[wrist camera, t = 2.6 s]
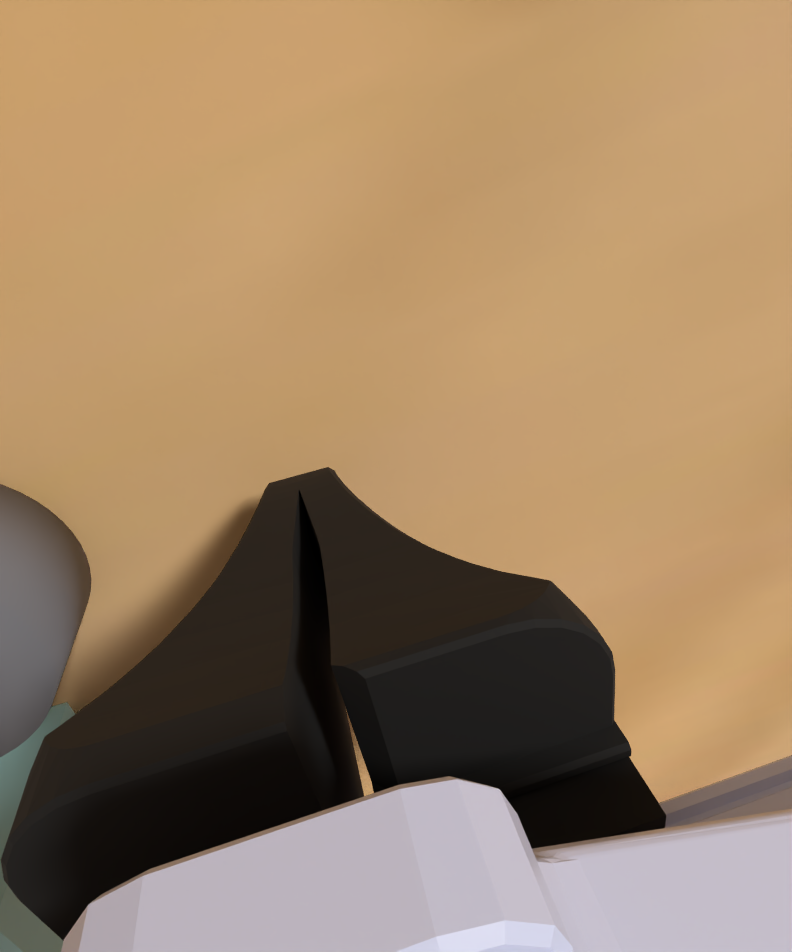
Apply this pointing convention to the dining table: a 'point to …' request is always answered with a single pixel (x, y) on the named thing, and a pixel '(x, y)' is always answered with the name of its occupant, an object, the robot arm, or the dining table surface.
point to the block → (3, 781)
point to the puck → (35, 611)
